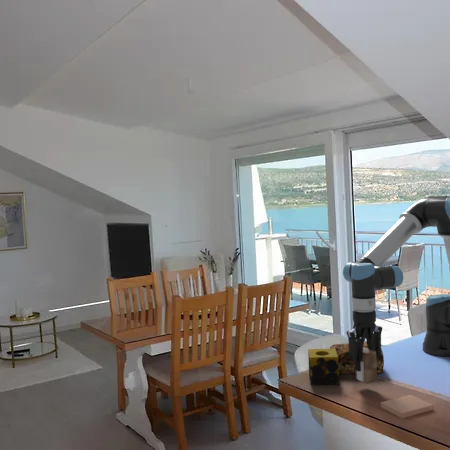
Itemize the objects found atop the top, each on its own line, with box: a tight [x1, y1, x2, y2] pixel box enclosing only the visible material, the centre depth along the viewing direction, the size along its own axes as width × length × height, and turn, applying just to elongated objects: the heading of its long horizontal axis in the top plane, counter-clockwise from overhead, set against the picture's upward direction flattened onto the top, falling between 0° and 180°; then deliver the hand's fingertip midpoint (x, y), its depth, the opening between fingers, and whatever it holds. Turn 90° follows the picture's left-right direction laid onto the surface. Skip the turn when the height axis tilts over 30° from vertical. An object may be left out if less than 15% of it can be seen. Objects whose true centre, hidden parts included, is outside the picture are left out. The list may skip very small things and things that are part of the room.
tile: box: [380, 394, 434, 419], centre depth 153 cm, size 12×2×9 cm
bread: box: [329, 341, 385, 375], centre depth 189 cm, size 19×11×10 cm, turn 83°
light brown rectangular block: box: [354, 347, 378, 384], centre depth 170 cm, size 4×6×10 cm, turn 25°
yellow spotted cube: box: [307, 348, 340, 386], centre depth 180 cm, size 10×10×10 cm
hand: (366, 378), depth 170 cm, fingers closed on light brown rectangular block, 4 cm apart
